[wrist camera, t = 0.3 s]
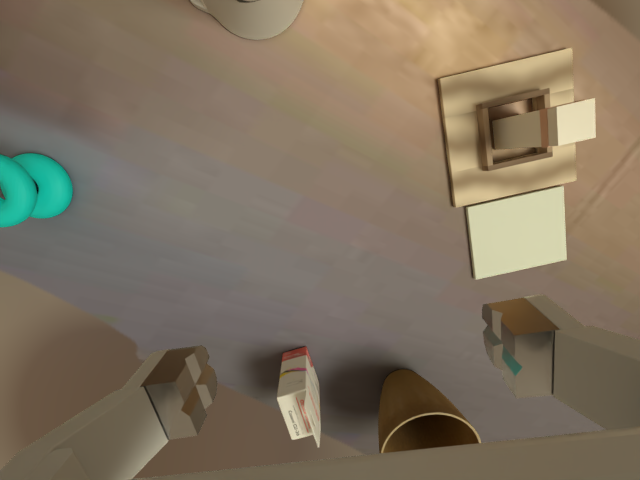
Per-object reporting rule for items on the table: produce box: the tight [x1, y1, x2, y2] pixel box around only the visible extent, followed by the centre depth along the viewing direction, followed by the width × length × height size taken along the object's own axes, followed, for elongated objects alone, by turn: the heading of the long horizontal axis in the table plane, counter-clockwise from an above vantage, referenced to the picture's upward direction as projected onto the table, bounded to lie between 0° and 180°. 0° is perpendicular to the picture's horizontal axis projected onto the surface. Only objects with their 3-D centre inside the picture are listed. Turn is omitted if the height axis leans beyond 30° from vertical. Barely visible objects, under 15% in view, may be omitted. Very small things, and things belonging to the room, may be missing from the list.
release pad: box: [466, 186, 567, 279], centre depth 56 cm, size 13×16×1 cm
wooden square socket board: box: [438, 48, 576, 207], centre depth 51 cm, size 20×20×3 cm
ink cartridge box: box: [277, 347, 321, 448], centre depth 54 cm, size 9×5×15 cm, turn 16°
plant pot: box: [378, 369, 481, 453], centre depth 55 cm, size 15×15×16 cm
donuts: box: [0, 153, 73, 227], centre depth 47 cm, size 10×10×10 cm
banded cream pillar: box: [492, 98, 596, 150], centre depth 46 cm, size 5×5×14 cm
